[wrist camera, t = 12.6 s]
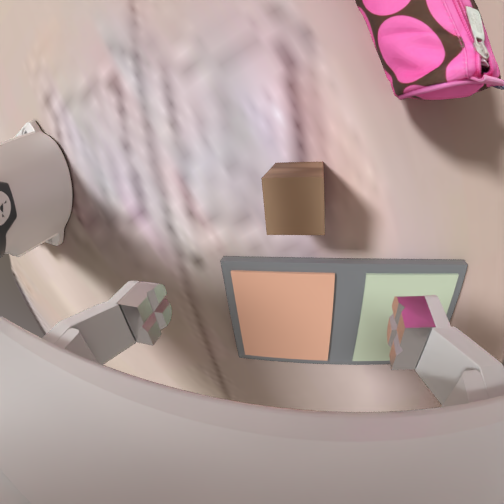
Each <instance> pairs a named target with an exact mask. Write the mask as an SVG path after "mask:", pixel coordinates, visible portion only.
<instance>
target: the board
mask: <svg viewBox="0 0 504 504" xmlns="http://www.w3.org/2000/svg"><path fill="white" fill-rule="evenodd" d="M220 262H221V267H222V273H223V278H224V283H225V289H226V294H227V299H228V305H229V310H230V315H231V320H232V325H233V330H234V335H235V340H236V345H237V349H238V354H239V357H240V358H249V359H259V360H269V361H281V362H295V363H313V364H348V365H369V364H390V357H389V354H390V350H391V347H390V346H389V345H388V342H387V327H388V321H389V317H390V316H391V315H392V314H393V310H392V303H393V300H394V297H395V296H423V295H437V296H438V298H439V300H440V302H441V304H442V306H443V309H444V311H445V313H446V316H447V318H448V320H449V322H450V319H451V317H452V314H453V311H454V308H455V305H456V302H457V299H458V296H459V293H460V290H461V287H462V283H463V280H464V277H465V273H466V269H467V266H468V264H467V263H466V262H465V260H442V259H358V258H295V257H240V256H223V258H222V259H221V261H220Z"/></svg>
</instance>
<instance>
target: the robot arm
mask: <svg viewBox="0 0 504 504" xmlns="http://www.w3.org/2000/svg"><path fill="white" fill-rule="evenodd" d="M71 209H72V184H71V178H70V173H69V169H68V166H67V163H66V160H65V158H64V155H63V153H62V151H61V149H60V148H59V146H58V145H57V143H56V142H55V141H54V140H53V139H52V138H51V137H49V136H48V135H46V134H44V133H43V132H42V131H41V129H40V128H39V126H38V124H37V123H36V122H35V121H34V120H32V121H29V122H27V123H26V124H25V125H24V126H23V128H22V129H21V130H20V131H19V132H18V134H17V135H16V136H15V137H14V138H12V139H9V140H6V141H4V142H1V143H0V257H2V256H3V255H4V253H8V254H11V255H12V256H16V257H20V256H22V255H24V254H26V253H27V252H29V251H31V250H32V249H34V248H36V247H37V246H39V245H41V244H42V243H44V242H46V243H49V244H52V245H55V246H58V245H59V244H61V243H62V242H63V238H64V227H65V225H66V223H67V221H68V219H69V217H70V213H71ZM166 295H167V292H166V289H165V287H164V286H163V285H162V284H158V283H150V282H142V281H141V282H140V281H133V280H132V281H128V282H127V283H126V284H125V285H124V286H123V287H122V288H121V289H120V290H119V291H118V292H117V293H115V294H114V295H113V296H112V297H111V298H110V299H109V300H108V301H107V302H102V303H100V304H98V305H96V306H93V307H91V308H89V309H86V310H84V311H82V312H80V313H77V314H75V315H73V316H70V317H68V318H66V319H64V320H61V321H59V322H58V323H57V324H56V325H55V326H54V327H53V328H52V329H51V330H50V331H49V332H48V333H47V334H46V335H45V336H44V337H43V338H40V337H38V336H36V335H34V334H32V333H30V332H29V331H27V330H25V329H23V328H21V327H19V326H18V325H16V324H14V323H12V322H10V321H9V320H7V319H6V318H4V317H2V316H0V504H504V367H503V364H502V363H500V362H499V361H498V360H497V359H495V358H494V357H493V356H492V355H491V354H489V353H488V352H487V351H486V350H484V349H483V348H482V347H481V346H479V345H478V344H477V343H475V342H474V341H473V340H472V339H470V338H469V337H468V336H466V335H465V334H464V333H463V332H461V331H460V330H459V329H457V328H456V327H451V325H450V323H449V320H448V318H447V316H446V313H445V311H444V309H443V306H442V304H441V302H440V300H439V298H438V296H437V295H423V296H395V297H394V300H393V303H392V310H393V314H392V315H391V316H390V317H389V321H388V327H387V342H388V345H389V346H390V347H391V350H390V354H389V357H390V364H391V370H415V371H416V373H417V374H418V375H419V376H420V378H421V379H422V380H423V382H424V383H425V384H426V385H427V387H428V388H429V389H430V390H431V392H432V393H433V394H434V396H435V397H436V398H437V400H438V401H439V402H440V403H441V405H442V407H438V408H429V409H419V410H407V411H389V412H331V411H313V410H300V409H289V408H280V407H271V406H264V405H257V404H250V403H244V402H238V401H232V400H227V399H221V398H216V397H212V396H207V395H202V394H198V393H194V392H189V391H185V390H181V389H177V388H174V387H170V386H166V385H163V384H159V383H156V382H152V381H149V380H146V379H142V378H139V377H136V376H133V375H130V374H127V373H124V372H121V371H118V370H115V369H113V368H110V367H107V366H104V365H103V364H105V363H106V362H108V361H109V360H111V359H112V358H114V357H115V356H117V355H118V354H120V353H121V352H123V351H124V350H126V349H127V348H129V347H130V346H132V345H133V344H135V343H136V342H139V343H144V344H148V345H154V344H155V342H156V341H157V340H158V338H159V337H160V335H161V329H163V328H165V327H166V326H167V325H168V324H169V322H170V320H171V316H172V308H171V305H170V302H169V301H168V300H167V299H166V298H165V297H166Z"/></svg>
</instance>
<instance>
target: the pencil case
mask: <svg viewBox="0 0 504 504" xmlns="http://www.w3.org/2000/svg"><path fill="white" fill-rule="evenodd" d="M355 1H356V4H357V6H358V8H359V10H360V12H361V13H362V14H363V16H364V19H365V21H366V24H367V26H368V29H369V31H370V34H371V37H372V40H373V42H374V45H375V48H376V50H377V52H378V55H379V57H380V60H381V62H382V65H383V68H384V71H385V74H386V77H387V78H388V80H389V81H390V82H391V87H392V89H393V92H394V95H395V96H396V97H398V98H399V99H400V100H401V99H405V98H414V99H421V100H443V99H452V98H462V97H468V96H471V95H472V94H474V93H476V92H479V91H482V90H484V89H487V88H489V87H490V86H493V87H495V88H498V89H504V80H501V77H500V70H499V67H498V64H497V62H496V60H495V57H494V55H493V52H492V49H491V46H490V42H489V39H488V36H487V32H486V30H485V27H484V24H483V21H482V18H481V15H480V12H479V9H478V7H477V5H476V3H475V1H474V0H355Z"/></svg>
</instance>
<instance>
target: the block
mask: <svg viewBox="0 0 504 504" xmlns="http://www.w3.org/2000/svg"><path fill="white" fill-rule="evenodd" d="M261 179H262V189H263V199H264V210H265V220H266V231H267V235H325V204H324V170H323V162H289V163H275V164H274V165H273V167H272V168H271V169H270V170H269V171H268V172H267V173H266V174H265V175H264V176H263V177H262V178H261Z"/></svg>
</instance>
